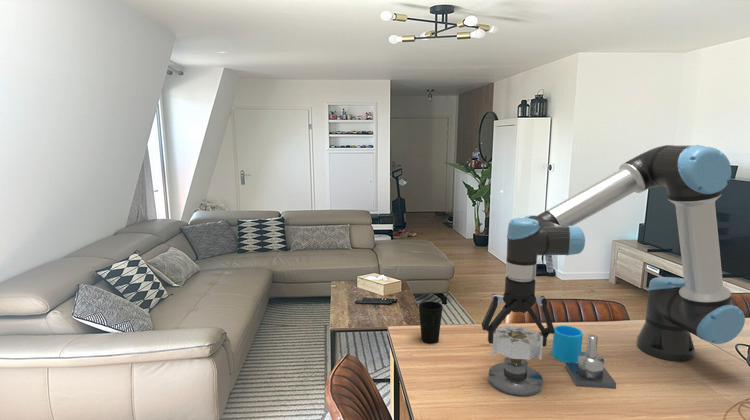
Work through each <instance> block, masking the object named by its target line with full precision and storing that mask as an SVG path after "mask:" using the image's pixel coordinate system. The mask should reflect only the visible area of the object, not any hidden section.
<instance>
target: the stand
mask: <svg viewBox="0 0 750 420" xmlns="http://www.w3.org/2000/svg"><path fill="white" fill-rule="evenodd" d="M598 338H599V337H598V336H597V335H595V334H588V335H587V340H586V341H587V342H586V344H587V345H586V351H581V352H580V353H579V354H578V362H575V363H568V362H565V369H566V371H567V373H568V374H569V376H570V377H571V379H572V380H573V383H574V384H575V386H577V387H586V388H587V387H589V388H604V389H605V388H606V389H617V382H616V381H615V380H614V378H613V377H612V376H611V374H610V373H609V371H608V370H607V369H606V368H605V366H604V363H605V358H604V356H602V355H600V354H598V353H597V352H598V351H597V349H598Z"/></svg>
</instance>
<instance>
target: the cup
mask: <svg viewBox="0 0 750 420" xmlns="http://www.w3.org/2000/svg"><path fill="white" fill-rule="evenodd" d="M418 312H419V313H418V314H419V323H420V324H419V325H420V326H419V327H420V335H421V336H420V337H421V342H422V341H423V342H422V343H424V344H426V343H427V344H428V345H435V344H437V343H439V341H440V340H439V339H440V331H441V324H442V323H441V321H442V315H443V304H441V303H440V302H437V301H431V300H430V301H427V300H426V301H422V302H420V303H419V304H418Z"/></svg>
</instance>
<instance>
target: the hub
mask: <svg viewBox="0 0 750 420" xmlns="http://www.w3.org/2000/svg"><path fill="white" fill-rule="evenodd" d="M512 338H515V339H522V338H521V337H512ZM487 379H488V382H489V384H490V385H491V386H492V388H494V389H495V390H497V391H498V392H500V393H503V394H505V395H509V396H514V397H522V398H523V397H532V396H535V395H538V394H539V393H540V392H541V391H542V389H543V381H544V380H543V376H542V374H541V373H540V372H539V371H537V370H536V369H535V368H533V367H532V366H531V367H530V366H529V365H528V361H527V359H511V358H509V357H507V356H505V358H504V361H503V362H499V363H496V364H493V365H492V366H490V368H488V378H487Z"/></svg>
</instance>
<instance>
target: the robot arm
mask: <svg viewBox="0 0 750 420" xmlns="http://www.w3.org/2000/svg"><path fill="white" fill-rule="evenodd" d="M731 178H732V166H731V163H730V160H729V158H728V157H727V155H726V154H725V153H724V152H722V151H721V150H719V149H717V148H716V147H711V146H705V145H700V144H699V145H698V144H697V145H674V144H673V145H671V144H668V145H667V144H666V145H661V146H658V147H654V148H652V149H649V150H647V151H644V152H642V153H640V154H639V155H636V156H635V157H633V158H631V159H629V160H627V161H626V162H624V163H622V164H620V165H619V168H618V170H617V171H615V172H613V173H612V174H610V175H609V174H608V175H607V176H606V177H604V178H602V179H601V180H598V181H597V182H595V183H593V184H591V185H590V186H588V187H586V188H584V189H583V190H581V191H579V192H577V193H576V194H574V195H572V196H570V197H569V198H567V199H565V200H563V201H561V202H560V203H557V204H556V205H553V206H552V207H550V208H549V209H547V210H545V211H543V212H541V213H539V214H538V215H535V214H534V215H526V216H524V217H514V218H511V219H510V221H509V222H508V226H507V227H508V228H507V235H506V240H507V242H506V263H505V276H506V277H505V279H504V293H503V295H501V294H500V295H499V294H498V295H497V294H496V293H492V295H491V302H490V305H489V307H488V310H487V312H486V314H485V315H484V318H483V319H482V322H481V328H482V331H486V332H487V342H488V344H491V347H490V348H491V356H492V357H496V356H497V352H496V336H497V334H496V331H495V330H496V329H498V328H499V326H500V325H501V324H502V322H503V321H504V320H505V319H506V318H507V316H509V315H510V314H511V312H512V313H522V314H526V313H527V312H528V314H529V316H530V317H531V318H532V320H533V321H534V323H535V325H536V326H537V328H538V329H539V331H537V334H538V336H539V337H540V339H541V347H540V355H538V356H536V357H537V359H538V360H542V359H543V347H546V346H547V342H548V337H549V335H550V334H551V335H553V334H554V333H555V330H554V327H555V326H554V325H553V321H552V318H551V316H550V313H549V310H548V300H547V298H546V297H545V295H541V296H536V295H535V294H536V280H535V279H536V276H537V261H538V260H537V259H538V256H573V255H579V254H581V253H582V252H583V251H584V250H585V249H584V248H585V246H586V245H585V244H586V237H585V233H584V231H583V229H582V228H580V227H579V226H577V224H579V223H581V222H582V221H584V220H586V219H588V218H590V217H591V216H594V215H595V214H598V213H599V212H600V211H603V210H605V209H607V208H608V207H609V206H611V205H614V204H616V203H617V202H619V201H621V200H622V199H624V198H626V197H627V196H628V197H629V196H630V195H632V194H633V193H637V194H640V193H643V192H644V191H647V190H649V189H652V188H653V189H654V188H660V187H662V188H666V194H667V196H666V197H667V200H668V201H669V202H670V203H672V204H674V207H675V213H676V221H677V230H678V240H679V247H680V248H679V249H680V256H681V266H682V274H683V275H682V276H683V278H681V277H673V276H670V277H669V276H658V277H654V278H652V279H651V280H650V281H649V285H648V289H647V297H646V298H647V301H646V311H645V313H646V314H645V320H644V324H643V326H642V328H641V330H640V332H639V333H638V335H637V338H636V346H637V347H638V348H639V349H640V351H642V352H643V353H645V354H648V355H649V356H652V357H656V358H658V359H659V358H660V359H663V360H667V361H675V362H685V361H690V360H693V359H694V357H695V349H696V348H695V346H694V341H693V338H692V335H694V336H696V337H697V338H699V339H700V340H704V341H707V342H708V343H711V344H714V345H722V344H725V343H729V342H731V341H733V340H734V339H735V338H737V337H738V335H740V333H741V331H742V330H743V329H744V326H745V322H746V321H745V320H746V317H745V314H744V313H745V312H744V311H742V309H740V307H738V306H737V305H735V304H733V301H732V292H731V290H730V289H729V288H728V287H726V286H725V285H724V281H723V280H724V279H723V271H722V263H721V251H720V240H719V232H718V231H719V230H718V220H717V211H716V201H717V200H718V199H719V198H720V197H721V196H722V191H723V190H724V189H725V188H726V186H727V185H728V184H729V183H728V181H730V180H731ZM502 301H503V303H505V304H504V305H503V307H502V309H501V310H500V311H499V312H498V314H497V315H496V316H495V317H494V315H495V312H496V311H497V309H498V305H500V304H501V302H502ZM536 303H537V304H538V305H539V307H540V309H541V312H542V315H543V318H544V321H545V324H546V327H544V325H543V323H542V322H541V320H540V319H539V318H538V316H537V314H536V312H534V310H533V308H532V307H533V306H534V305H535V304H536ZM493 317H494V319H493ZM492 319H493V320H492ZM691 334H692V335H691Z"/></svg>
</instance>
